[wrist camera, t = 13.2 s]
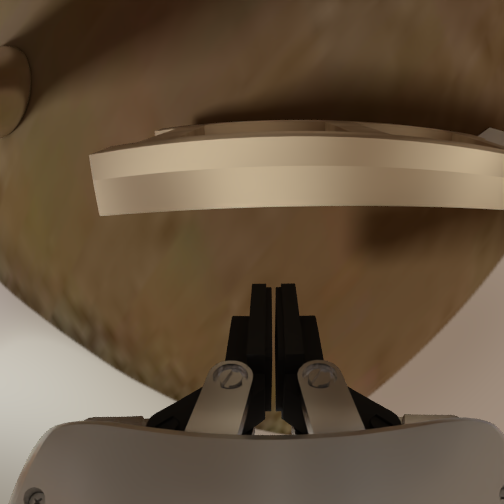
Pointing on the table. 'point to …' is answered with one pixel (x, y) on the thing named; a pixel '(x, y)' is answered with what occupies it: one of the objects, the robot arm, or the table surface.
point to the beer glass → (13, 88)
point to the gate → (298, 167)
